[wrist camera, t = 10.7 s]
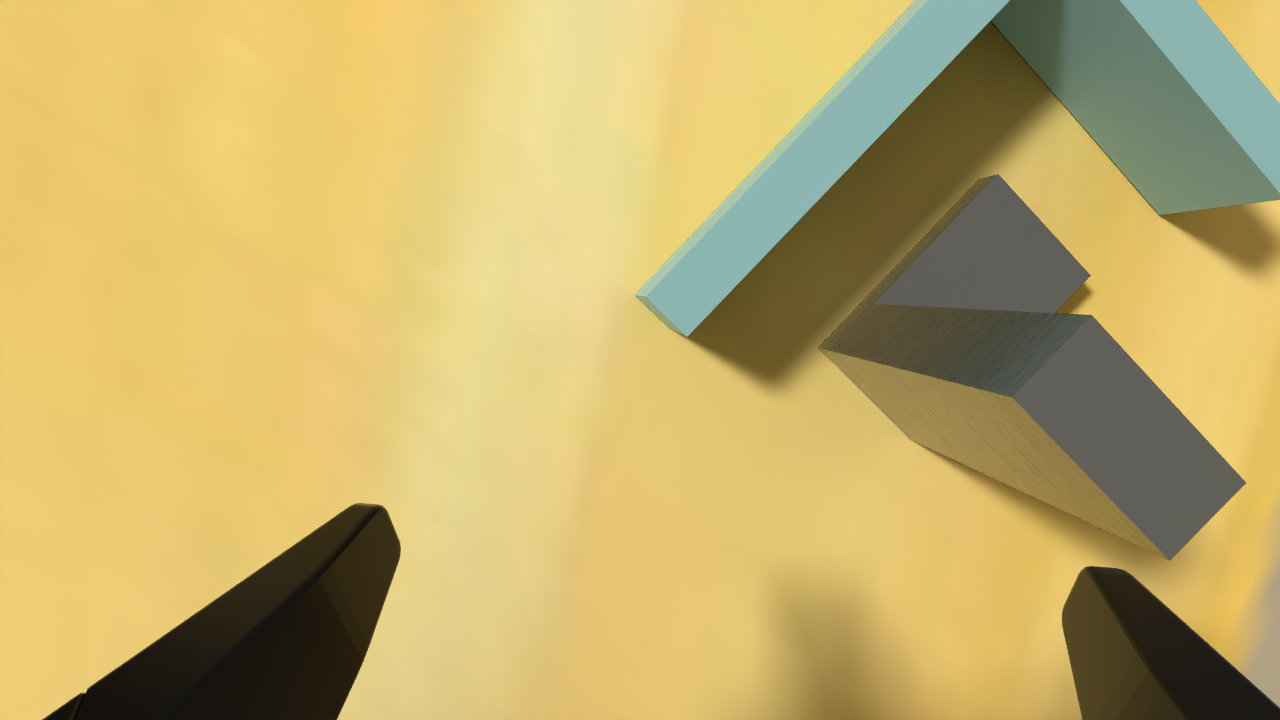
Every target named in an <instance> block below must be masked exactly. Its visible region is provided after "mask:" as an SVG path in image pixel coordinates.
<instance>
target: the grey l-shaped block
mask: <svg viewBox="0 0 1280 720" xmlns="http://www.w3.org/2000/svg"><path fill="white" fill-rule="evenodd" d="M1090 276H1091V275H1090V274H1089V273H1088V272H1087V271H1086V270H1085V269H1084V268H1083V267H1082V266H1081V264H1080V263H1079V262H1078V261H1077V260H1076V259H1075V258H1074V257H1073V256H1072V255H1071V253H1070V252H1069V251H1068V250H1067V249H1066V248H1065V247H1064V246H1063V245H1062V244H1061V242H1060V241H1059V240H1058V239H1057V238H1056V237H1055V236H1054V235H1053V234H1052V233H1051V232H1050V230H1049V229H1048V228H1047V227H1046V226H1045V225H1044V224H1043V223H1042V222H1041V221H1040V219H1039V218H1038V217H1037V216H1036V215H1035V214H1034V213H1033V212H1032V211H1031V210H1030V208H1029V207H1028V206H1027V205H1026V204H1025V203H1024V202H1023V201H1022V200H1021V199H1020V198H1019V196H1018V195H1017V194H1016V193H1015V192H1014V191H1013V190H1012V189H1011V188H1010V187H1009V185H1008V184H1007V183H1006V182H1005V181H1004V180H1003V179H1002V178H1001V177H1000V176H999V174H996V175H993V176H989V177H986V178H982V179H979V180H978V181H977V182H976V183H975V184H974V185H973V186H972V187H971V188H970V189H969V190H968V191H967V193H966V194H965V195H964V196H963V197H962V198H961V199H960V200H959V201H958V202H957V203H956V204H955V205H954V206H953V207H952V208H951V209H950V210H949V211H948V212H947V213H946V215H945V216H944V217H943V218H942V219H941V220H940V221H939V222H938V223H937V224H936V225H935V226H934V227H933V228H932V229H931V230H930V231H929V232H928V233H927V234H926V235H925V236H924V238H923V239H922V240H921V241H920V242H919V243H918V244H917V245H916V246H915V247H914V248H913V249H912V250H911V251H910V252H909V253H908V254H907V255H906V256H905V257H904V258H903V260H902V261H901V262H900V263H899V264H898V265H897V266H896V267H895V268H894V269H893V270H892V271H891V272H890V273H889V274H888V275H887V276H886V277H885V278H884V279H883V280H882V281H881V283H880V284H879V285H878V286H877V287H876V288H875V289H874V290H873V291H872V292H871V293H870V294H869V295H868V296H867V297H866V298H865V299H864V300H863V301H862V302H861V303H860V304H859V306H858V307H857V308H856V309H855V310H854V311H853V312H852V313H851V314H850V315H849V316H848V317H847V318H846V319H845V320H844V321H843V322H842V323H841V324H840V325H839V326H838V328H837V329H836V330H835V331H834V332H833V333H832V334H831V335H830V336H829V337H828V338H827V339H826V340H825V341H824V342H823V343H822V344H821V345H820V346H819V347H818V348H819V349H820V350H821V351H822V352H823V353H824V354H825V355H826V356H827V357H828V358H829V359H830V360H831V361H832V362H833V363H834V364H835V365H836V366H837V367H838V368H839V369H840V370H841V371H842V372H843V373H844V374H845V375H846V376H847V377H848V378H849V379H850V380H851V381H852V382H853V383H854V384H855V385H856V386H857V387H858V388H859V389H860V390H861V391H862V392H863V393H864V394H865V395H866V396H867V397H868V398H869V399H870V400H871V401H872V402H873V403H874V404H875V405H876V406H877V407H878V408H879V409H880V410H881V411H882V412H883V413H884V414H885V415H886V416H887V417H888V418H889V419H890V420H891V421H892V422H893V423H894V424H895V425H896V426H897V427H898V428H899V429H900V430H901V431H902V432H903V433H904V434H905V435H906V436H907V437H908V438H909V439H910V440H913V441H915V442H917V443H919V444H921V445H923V446H925V447H928V448H930V449H932V450H934V451H936V452H938V453H940V454H943V455H945V456H947V457H949V458H951V459H953V460H955V461H958V462H960V463H962V464H964V465H966V466H968V467H970V468H973V469H975V470H977V471H979V472H981V473H983V474H985V475H987V476H990V477H992V478H994V479H996V480H998V481H1000V482H1002V483H1005V484H1007V485H1009V486H1011V487H1013V488H1015V489H1017V490H1020V491H1022V492H1024V493H1026V494H1028V495H1030V496H1032V497H1035V498H1037V499H1039V500H1041V501H1043V502H1045V503H1047V504H1050V505H1052V506H1054V507H1056V508H1058V509H1060V510H1062V511H1065V512H1067V513H1069V514H1071V515H1073V516H1075V517H1077V518H1080V519H1082V520H1084V521H1086V522H1088V523H1090V524H1092V525H1095V526H1097V527H1099V528H1101V529H1103V530H1105V531H1107V532H1110V533H1112V534H1114V535H1116V536H1118V537H1120V538H1122V539H1125V540H1127V541H1129V542H1131V543H1133V544H1135V545H1137V546H1140V547H1142V548H1144V549H1146V550H1148V551H1150V552H1152V553H1155V554H1157V555H1159V556H1161V557H1163V558H1165V559H1167V560H1171V559H1172V558H1173V557H1174V556H1175V555H1176V554H1177V553H1178V552H1179V551H1180V550H1181V549H1182V548H1183V547H1184V546H1185V545H1186V544H1187V543H1188V542H1189V541H1190V539H1191V538H1192V537H1193V536H1194V535H1195V534H1196V533H1197V532H1198V531H1199V530H1200V529H1201V528H1202V527H1203V526H1204V525H1205V524H1206V523H1207V522H1208V521H1209V520H1210V519H1211V518H1212V517H1213V516H1214V515H1215V514H1216V513H1217V512H1218V511H1219V510H1220V509H1221V508H1222V507H1223V506H1224V505H1225V504H1226V503H1227V502H1228V501H1229V500H1230V499H1231V498H1232V497H1233V496H1234V495H1235V494H1236V493H1237V492H1238V491H1239V490H1240V489H1241V488H1242V487H1243V486H1244V485H1245V484H1246V482H1245V481H1244V480H1243V479H1242V478H1241V477H1240V476H1239V474H1238V473H1237V472H1236V471H1235V470H1234V469H1233V468H1232V467H1231V466H1230V465H1229V464H1228V463H1227V461H1226V460H1225V459H1224V458H1223V457H1222V456H1221V455H1220V454H1219V453H1218V452H1217V451H1216V450H1215V448H1214V447H1213V446H1212V445H1211V444H1210V443H1209V442H1208V441H1207V440H1206V439H1205V438H1204V436H1203V435H1202V434H1201V433H1200V432H1199V431H1198V430H1197V429H1196V428H1195V427H1194V426H1193V425H1192V423H1191V422H1190V421H1189V420H1188V419H1187V418H1186V417H1185V416H1184V415H1183V414H1182V413H1181V412H1180V410H1179V409H1178V408H1177V407H1176V406H1175V405H1174V404H1173V403H1172V402H1171V401H1170V400H1169V398H1168V397H1167V396H1166V395H1165V394H1164V393H1163V392H1162V391H1161V390H1160V389H1159V388H1158V387H1157V385H1156V384H1155V383H1154V382H1153V381H1152V380H1151V379H1150V378H1149V377H1148V376H1147V375H1146V374H1145V372H1144V371H1143V370H1142V369H1141V368H1140V367H1139V366H1138V365H1137V364H1136V363H1135V362H1134V361H1133V359H1132V358H1131V357H1130V356H1129V355H1128V354H1127V353H1126V352H1125V351H1124V350H1123V349H1122V347H1121V346H1120V345H1119V344H1118V343H1117V342H1116V341H1115V340H1114V339H1113V338H1112V337H1111V336H1110V334H1109V333H1108V332H1107V331H1106V330H1105V329H1104V328H1103V327H1102V326H1101V325H1100V324H1099V323H1098V321H1097V320H1096V319H1095V318H1094V317H1093V316H1092V315H1078V314H1059V313H1055V312H1056V311H1057V310H1058V309H1059V308H1060V307H1061V306H1062V305H1063V304H1064V303H1065V302H1066V301H1067V300H1068V299H1069V298H1070V297H1071V295H1072V294H1073V293H1074V292H1075V291H1076V290H1077V289H1078V288H1079V287H1080V286H1081V285H1082V284H1083V283H1084V282H1085V281H1086V280H1087V279H1088V278H1089V277H1090Z"/></svg>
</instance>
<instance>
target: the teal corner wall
mask: <svg viewBox="0 0 1280 720" xmlns="http://www.w3.org/2000/svg"><path fill="white" fill-rule="evenodd" d="M990 21H992V23H993V24H994V25H995V26H996V27H997V28H998V29H999V31H1000V32H1001V33H1002V34H1003V35H1004V36H1005V38H1006V39H1007V40H1008V41H1009V42H1010V43H1011V44H1012V46H1013V47H1014V48H1015V49H1016V50H1017V51H1018V53H1019V54H1020V55H1021V56H1022V57H1023V58H1024V59H1025V61H1026V62H1027V63H1028V64H1029V65H1030V66H1031V68H1032V69H1033V70H1034V71H1035V72H1036V73H1037V75H1038V76H1039V77H1040V78H1041V79H1042V80H1043V81H1044V83H1045V84H1046V85H1047V86H1048V87H1049V88H1050V90H1051V91H1052V92H1053V93H1054V94H1055V95H1056V96H1057V98H1058V99H1059V100H1060V101H1061V102H1062V103H1063V105H1064V106H1065V107H1066V108H1067V109H1068V110H1069V111H1070V113H1071V114H1072V115H1073V116H1074V117H1075V118H1076V120H1077V121H1078V122H1079V123H1080V124H1081V125H1082V126H1083V128H1084V129H1085V130H1086V131H1087V132H1088V133H1089V135H1090V136H1091V137H1092V138H1093V139H1094V140H1095V141H1096V143H1097V144H1098V145H1099V146H1100V147H1101V148H1102V150H1103V151H1104V152H1105V153H1106V154H1107V155H1108V156H1109V158H1110V159H1111V160H1112V161H1113V162H1114V163H1115V165H1116V166H1117V167H1118V168H1119V169H1120V170H1121V172H1122V173H1123V174H1124V175H1125V176H1126V177H1127V178H1128V180H1129V181H1130V182H1131V183H1132V184H1133V185H1134V187H1135V188H1136V189H1137V190H1138V191H1139V192H1140V193H1141V195H1142V196H1143V197H1144V198H1145V199H1146V200H1147V202H1148V203H1149V204H1150V205H1151V206H1152V207H1153V208H1154V210H1155V211H1156V212H1157V213H1158V214H1159V215H1164V214H1172V213H1179V212H1187V211H1195V210H1203V209H1211V208H1218V207H1226V206H1234V205H1242V204H1250V203H1257V202H1265V201H1273V200H1280V104H1279V103H1278V101H1277V100H1276V99H1275V98H1274V97H1273V95H1272V94H1271V93H1270V92H1269V90H1268V89H1267V88H1266V87H1265V85H1264V84H1263V83H1262V82H1261V80H1260V79H1259V78H1258V77H1257V75H1256V74H1255V73H1254V72H1253V71H1252V69H1251V68H1250V67H1249V66H1248V64H1247V63H1246V62H1245V61H1244V59H1243V58H1242V57H1241V56H1240V54H1239V53H1238V52H1237V51H1236V50H1235V48H1234V47H1233V46H1232V45H1231V43H1230V42H1229V41H1228V40H1227V38H1226V37H1225V36H1224V35H1223V33H1222V32H1221V31H1220V30H1219V28H1218V27H1217V26H1216V25H1215V24H1214V22H1213V21H1212V20H1211V19H1210V17H1209V16H1208V15H1207V14H1206V12H1205V11H1204V10H1203V9H1202V7H1201V6H1200V5H1199V4H1198V2H1197V1H1196V0H916V1H915V2H914V3H913V4H912V5H911V6H910V7H909V8H908V9H907V10H906V11H905V12H904V13H903V14H902V15H901V16H900V18H899V19H898V20H897V21H896V22H895V23H894V24H893V25H892V26H891V27H890V28H889V29H888V30H887V31H886V32H885V33H884V34H883V35H882V36H881V37H880V39H879V40H878V41H877V42H876V43H875V44H874V45H873V46H872V47H871V48H870V49H869V50H868V51H867V52H866V53H865V54H864V55H863V56H862V57H861V58H860V59H859V61H858V62H857V63H856V64H855V65H854V66H853V67H852V68H851V69H850V70H849V71H848V72H847V73H846V74H845V75H844V76H843V77H842V78H841V79H840V80H839V81H838V83H837V84H836V85H835V86H834V87H833V88H832V89H831V90H830V91H829V92H828V93H827V94H826V95H825V96H824V97H823V98H822V99H821V100H820V101H819V102H818V103H817V105H816V106H815V107H814V108H813V109H812V110H811V111H810V112H809V113H808V114H807V115H806V116H805V117H804V118H803V119H802V120H801V121H800V122H799V123H798V124H797V125H796V127H795V128H794V129H793V130H792V131H791V132H790V133H789V134H788V135H787V136H786V137H785V138H784V139H783V140H782V141H781V142H780V143H779V144H778V145H777V146H776V147H775V149H774V150H773V151H772V152H771V153H770V154H769V155H768V156H767V157H766V158H765V159H764V160H763V161H762V162H761V163H760V164H759V165H758V166H757V167H756V168H755V169H754V171H753V172H752V173H751V174H750V175H749V176H748V177H747V178H746V179H745V180H744V181H743V182H742V183H741V184H740V185H739V186H738V187H737V188H736V189H735V190H734V191H733V193H732V194H731V195H730V196H729V197H728V198H727V199H726V200H725V201H724V202H723V203H722V204H721V205H720V206H719V207H718V208H717V209H716V210H715V211H714V212H713V213H712V215H711V216H710V217H709V218H708V219H707V220H706V221H705V222H704V223H703V224H702V225H701V226H700V227H699V228H698V229H697V230H696V231H695V232H694V233H693V234H692V235H691V237H690V238H689V239H688V240H687V241H686V242H685V243H684V244H683V245H682V246H681V247H680V248H679V249H678V250H677V251H676V252H675V253H674V254H673V255H672V256H671V257H670V259H669V260H668V261H667V262H666V263H665V264H664V265H663V266H662V267H661V268H660V269H659V270H658V271H657V272H656V273H655V274H654V275H653V276H652V277H651V278H650V279H649V281H648V282H647V283H646V284H645V285H644V286H643V287H642V288H641V289H640V290H639V291H638V292H637V293H636V294H635V296H636V297H637V298H638V299H639V300H640V301H641V302H642V303H643V304H644V305H645V306H646V307H647V308H648V309H649V310H651V311H652V312H653V313H654V314H655V315H656V316H657V317H658V318H659V319H660V320H661V321H662V322H663V323H664V324H665V325H666V326H667V327H668V328H670V329H672V330H674V331H676V332H678V333H680V334H682V335H684V336H686V337H688V335H689V334H690V333H691V332H692V331H693V330H694V329H695V328H696V327H697V326H698V325H699V324H700V323H701V322H702V321H703V320H704V319H705V318H706V317H707V316H708V315H709V314H710V313H711V311H712V310H713V309H714V308H715V307H716V306H717V305H718V304H719V303H720V302H721V301H722V300H723V299H724V298H725V297H726V296H727V295H728V294H729V293H730V292H731V291H732V290H733V289H734V288H735V286H736V285H737V284H738V283H739V282H740V281H741V280H742V279H743V278H744V277H745V276H746V275H747V274H748V273H749V272H750V271H751V270H752V269H753V268H754V267H755V266H756V265H757V264H758V262H759V261H760V260H761V259H762V258H763V257H764V256H765V255H766V254H767V253H768V252H769V251H770V250H771V249H772V248H773V247H774V246H775V245H776V244H777V243H778V242H779V241H780V240H781V238H782V237H783V236H784V235H785V234H786V233H787V232H788V231H789V230H790V229H791V228H792V227H793V226H794V225H795V224H796V223H797V222H798V221H799V220H800V219H801V218H802V217H803V216H804V215H805V213H806V212H807V211H808V210H809V209H810V208H811V207H812V206H813V205H814V204H815V203H816V202H817V201H818V200H819V199H820V198H821V197H822V196H823V195H824V194H825V193H826V192H827V191H828V189H829V188H830V187H831V186H832V185H833V184H834V183H835V182H836V181H837V180H838V179H839V178H840V177H841V176H842V175H843V174H844V173H845V172H846V171H847V170H848V169H849V168H850V167H851V165H852V164H853V163H854V162H855V161H856V160H857V159H858V158H859V157H860V156H861V155H862V154H863V153H864V152H865V151H866V150H867V149H868V148H869V147H870V146H871V145H872V144H873V143H874V142H875V140H876V139H877V138H878V137H879V136H880V135H881V134H882V133H883V132H884V131H885V130H886V129H887V128H888V127H889V126H890V125H891V124H892V123H893V122H894V121H895V120H896V119H897V118H898V116H899V115H900V114H901V113H902V112H903V111H904V110H905V109H906V108H907V107H908V106H909V105H910V104H911V103H912V102H913V101H914V100H915V99H916V98H917V97H918V96H919V95H920V94H921V92H922V91H923V90H924V89H925V88H926V87H927V86H928V85H929V84H930V83H931V82H932V81H933V80H934V79H935V78H936V77H937V76H938V75H939V74H940V73H941V72H942V71H943V70H944V69H945V67H946V66H947V65H948V64H949V63H950V62H951V61H952V60H953V59H954V58H955V57H956V56H957V55H958V54H959V53H960V52H961V51H962V50H963V49H964V48H965V47H966V46H967V45H968V43H969V42H970V41H971V40H972V39H973V38H974V37H975V36H976V35H977V34H978V33H979V32H980V31H981V30H982V29H983V28H984V27H985V26H986V25H987V24H988V23H989V22H990Z"/></svg>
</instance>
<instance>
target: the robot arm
mask: <svg viewBox="0 0 1280 720" xmlns="http://www.w3.org/2000/svg"><path fill="white" fill-rule="evenodd" d="M400 553H401V547H400V541H399V539H398V536H397V534H396V531H395V529H394V526H393V524H392V521H391V519H390V517H389V514H388V512H387V510H386V509H385V508H384V507H383V506H381V505H376V504H364V503H357V504H354V505H352V506H350V507H348V508H347V509H345V510H344V511H342V512H341V513H339V514H338V515H337V516H335V517H334V518H332V519H331V520H329V521H328V522H326V523H325V524H324V525H322V526H321V527H319V528H318V529H316V530H315V531H314V532H312V533H311V534H309V535H308V536H306V537H305V538H303V539H302V540H301V541H299V542H298V543H296V544H295V545H293V546H292V547H290V548H289V549H288V550H286V551H285V552H283V553H282V554H280V555H279V556H278V557H276V558H275V559H273V560H272V561H270V562H269V563H267V564H266V565H265V566H263V567H262V568H260V569H259V570H257V571H256V572H254V573H253V574H252V575H250V576H249V577H247V578H246V579H244V580H243V581H242V582H240V583H239V584H237V585H236V586H234V587H233V588H231V589H230V590H229V591H227V592H226V593H224V594H223V595H221V596H220V597H218V598H217V599H216V600H214V601H213V602H211V603H210V604H208V605H207V606H206V607H204V608H203V609H201V610H200V611H198V612H197V613H195V614H194V615H193V616H191V617H190V618H188V619H187V620H185V621H184V622H182V623H181V624H180V625H178V626H177V627H175V628H174V629H172V630H171V631H170V632H168V633H167V634H165V635H164V636H162V637H161V638H159V639H158V640H157V641H155V642H154V643H152V644H151V645H149V646H148V647H146V648H145V649H144V650H142V651H141V652H139V653H138V654H136V655H135V656H134V657H132V658H131V659H129V660H128V661H126V662H125V663H123V664H122V665H121V666H119V667H118V668H116V669H115V670H113V671H112V672H110V673H109V674H108V675H106V676H105V677H103V678H102V679H100V680H99V681H97V682H96V683H95V684H93V685H92V686H90V687H89V688H88V689H87V691H86V693H80V694H78V695H77V696H76V697H74V698H73V699H71V700H70V701H68V702H67V703H66V704H64V705H63V706H61V707H60V708H58V709H57V710H55V711H54V712H53V713H51V714H50V715H48V716H47V717H45V718H44V719H42V720H337V718H338V716H339V714H340V712H341V709H342V707H343V705H344V703H345V701H346V699H347V696H348V694H349V692H350V690H351V688H352V686H353V684H354V681H355V679H356V677H357V675H358V672H359V670H360V668H361V666H362V663H363V661H364V658H365V656H366V653H367V651H368V648H369V645H370V642H371V640H372V637H373V634H374V631H375V628H376V625H377V622H378V619H379V617H380V614H381V611H382V608H383V605H384V602H385V599H386V596H387V594H388V591H389V588H390V585H391V582H392V579H393V576H394V573H395V571H396V568H397V565H398V562H399V558H400ZM1062 626H1063V631H1064V636H1065V641H1066V645H1067V650H1068V655H1069V659H1070V664H1071V668H1072V673H1073V678H1074V682H1075V687H1076V692H1077V696H1078V701H1079V706H1080V710H1081V715H1082V720H1280V708H1279V707H1278V706H1277V705H1276V704H1275V703H1274V702H1273V701H1271V700H1270V699H1269V698H1268V697H1267V696H1266V695H1265V694H1264V693H1263V692H1261V691H1260V690H1259V689H1258V688H1257V687H1256V686H1255V685H1254V684H1253V683H1251V682H1250V681H1249V680H1248V679H1247V678H1246V677H1245V676H1244V675H1243V674H1241V673H1240V672H1239V671H1238V670H1237V669H1236V668H1235V667H1234V666H1233V665H1231V664H1230V663H1229V662H1228V661H1227V660H1226V659H1225V658H1224V657H1222V656H1221V655H1220V654H1219V653H1218V652H1217V651H1216V650H1215V649H1214V648H1212V647H1211V646H1210V645H1209V644H1208V643H1207V642H1206V641H1205V640H1204V639H1202V638H1201V637H1200V636H1199V635H1198V634H1197V633H1196V632H1195V631H1194V630H1192V629H1191V628H1190V627H1189V626H1188V625H1187V624H1186V623H1185V622H1183V621H1182V620H1181V619H1180V618H1179V617H1178V616H1177V615H1176V614H1175V613H1173V612H1172V611H1171V610H1170V609H1169V608H1168V607H1167V606H1166V605H1165V604H1163V603H1162V602H1161V601H1160V600H1159V599H1158V598H1157V597H1156V596H1155V595H1153V594H1152V593H1151V592H1150V591H1149V590H1148V589H1147V588H1146V587H1145V586H1143V585H1142V584H1141V583H1140V582H1139V581H1138V580H1137V579H1136V578H1134V577H1133V576H1132V575H1131V574H1129V573H1128V572H1126V571H1124V570H1121V569H1117V568H1105V567H1094V566H1089V567H1085V568H1084V569H1082V570H1081V572H1080V573H1079V575H1078V577H1077V579H1076V581H1075V583H1074V586H1073V588H1072V590H1071V592H1070V594H1069V596H1068V598H1067V601H1066V603H1065V605H1064V608H1063V612H1062Z"/></svg>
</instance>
